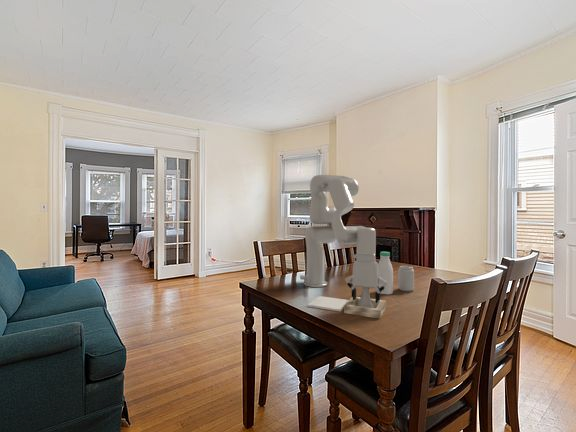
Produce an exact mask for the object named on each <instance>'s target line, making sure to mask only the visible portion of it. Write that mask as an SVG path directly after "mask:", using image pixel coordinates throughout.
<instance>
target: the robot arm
mask: <svg viewBox="0 0 576 432" xmlns="http://www.w3.org/2000/svg"><path fill="white" fill-rule="evenodd" d="M359 189H360V188H359V183H358V181H357V180H356V179H355V178H352V177H348V176H344V175H335V174H334V175H332V174H318V175H317V174H316V175H313V177H312V178H311V180H310V183H309V190H310V191H309V192H310V196H311V197H310V207H309V221H310V223H312V224H314V225H312V226H308V227H306V229H305V230H304V231H305V232H304V237H305V244H306V274H305V275H303V274H302V275H299V276H300V277H299V279H300V280H302V281H303V280H304V281H303V285H304V286H306V287H311V288H322V287H326V286H328V281H326V280H325V249H324V248H323V246H322V245H321V244H332V243H334V242H336V241H337V242H338V243H339V244H341V245H356V253H355V254H352V258H354V259H355V260H354V262H353V266H352V267H353V268H352V274H351V275H349V276H347V277H346V278H344V281H345V282H346V284H347V286H348V287H349V288H350V291H351V298H352V297H353V300H355V299H356V297H357V288H356V287H361V288H362V287H368V288H369V289H370V288H371V289H374V290H375V296H374V297H375V298H374V299H375V303H378V301H380V300H381V294H380V292H381V291H382V290H384V288H385V287H386V285H387V284H388V282H386V281H385V280H383V279H382V278H380V277H379V271H378V262H377V261H376V254H377V253H376V250H377V249H376V247H377V239H376V237H377V232H376V231H377V230H376V229H375V228H373V227H366V226H364V225H348V226H347V225H346V226H345V225H344V223H343V220H342V216H344V215H345V214H348V213H349V212H350V211H352V210H353V209H354V207H355V202H354V199H353V198H352V197H355V196H357V194H359ZM326 192H327V193H329V195H330V197H331V200H332V203H333V206H331V205H329V206H328V196H327V194H326ZM351 280H352V281H351ZM379 281H380V282H381V283H383V285H382V287H380V288H379V286H378V285H379Z"/></svg>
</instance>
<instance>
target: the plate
mask: <svg viewBox="0 0 576 432" xmlns="http://www.w3.org/2000/svg"><path fill="white" fill-rule="evenodd" d="M349 300H350V299H343V298H337V297H329V296H324V295H323V296H320V295H318V296H317V297H316V298H314V299H313V300H312V301H310V302H309V303H308V304H307V308H308V307H309V308H315V309H322V310H326V311H327V310H328V311H335V312H341V311H342V310H344V305H345V304H346V303H347V302H348V301H349Z"/></svg>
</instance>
